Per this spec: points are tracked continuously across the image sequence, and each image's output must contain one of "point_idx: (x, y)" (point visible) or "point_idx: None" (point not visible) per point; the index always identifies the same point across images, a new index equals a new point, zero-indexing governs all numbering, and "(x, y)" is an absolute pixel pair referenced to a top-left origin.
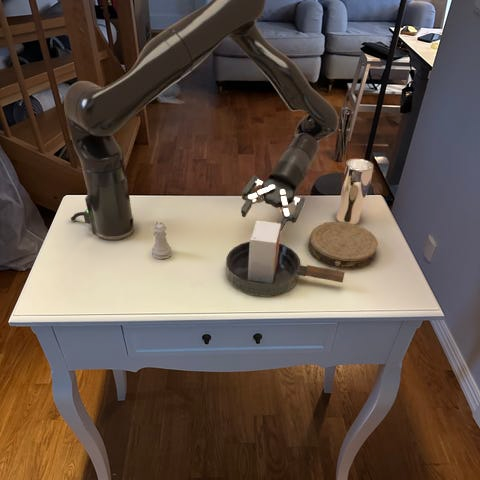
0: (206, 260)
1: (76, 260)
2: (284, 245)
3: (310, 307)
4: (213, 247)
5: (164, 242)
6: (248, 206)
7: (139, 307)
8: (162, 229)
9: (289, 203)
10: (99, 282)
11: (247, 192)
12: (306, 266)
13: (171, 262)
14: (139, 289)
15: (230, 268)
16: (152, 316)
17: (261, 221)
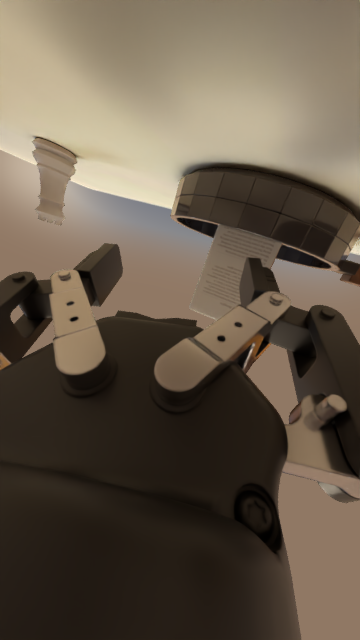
0: (132, 166)
1: (9, 148)
2: (300, 249)
3: (354, 250)
4: (96, 134)
5: (64, 190)
6: (111, 289)
7: (146, 200)
8: (62, 220)
9: (259, 392)
10: (78, 175)
11: (49, 320)
12: (351, 274)
13: (92, 162)
14: (120, 187)
15: (199, 232)
16: (165, 207)
17: (200, 312)
